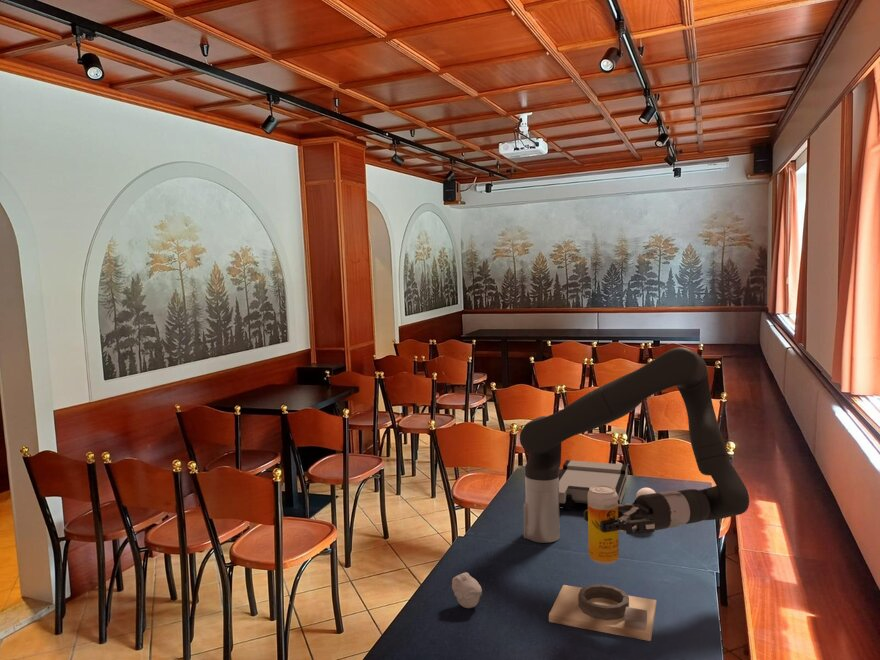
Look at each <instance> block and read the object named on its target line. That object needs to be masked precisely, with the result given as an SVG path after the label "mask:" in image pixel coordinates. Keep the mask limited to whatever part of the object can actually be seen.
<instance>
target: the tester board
mask: <svg viewBox="0 0 880 660" xmlns="http://www.w3.org/2000/svg"><path fill="white" fill-rule="evenodd" d="M656 610H657V599H651V598H645V597H640V596H634V595H629V594H627V593H626V591H624V590H623V589H620V588H618V587H616V586H614V585H608V584H599V583H598V584H589V585H586V586H584V587H579V586H574V585H573V586H572V585H566V584H563V585H562V587H561V589H560V591H559V593H558V595H557V597H556V599H555V601H554V603H553V606H552V607H551V609H550V611H549V614H548V622H549V623H553V624H554V623H555V624H558V625H564V626H569V627H573V628H580V629H584V630H589V631H596V632H600V633H606V634H612V635H616V636H621V637H626V638H631V639H637V640H643V641H648V642H651V641H652V635H653V630H654V624H655V618H656Z"/></svg>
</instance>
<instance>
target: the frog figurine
mask: <svg viewBox="0 0 880 660" xmlns="http://www.w3.org/2000/svg"><path fill="white" fill-rule="evenodd" d="M451 588H452V591H453V593H454V596H455V597H456V600H457V603H458V604H459V605H460V606H462V607H463V608H466V609H472V608H474V607H476V606H477V605H478V603H479V601H480V598H481V596H482V595H483V594H482V593H483V592H482V591H483V589H482V587H481V585H480V584H479V582H478V581H477V579H475V578H474V577H472V576H471V575H470V574H469V572H466V571H465V572H463V573H460V574H458V575H456V576H454V577H453V578H452V581H451Z"/></svg>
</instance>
